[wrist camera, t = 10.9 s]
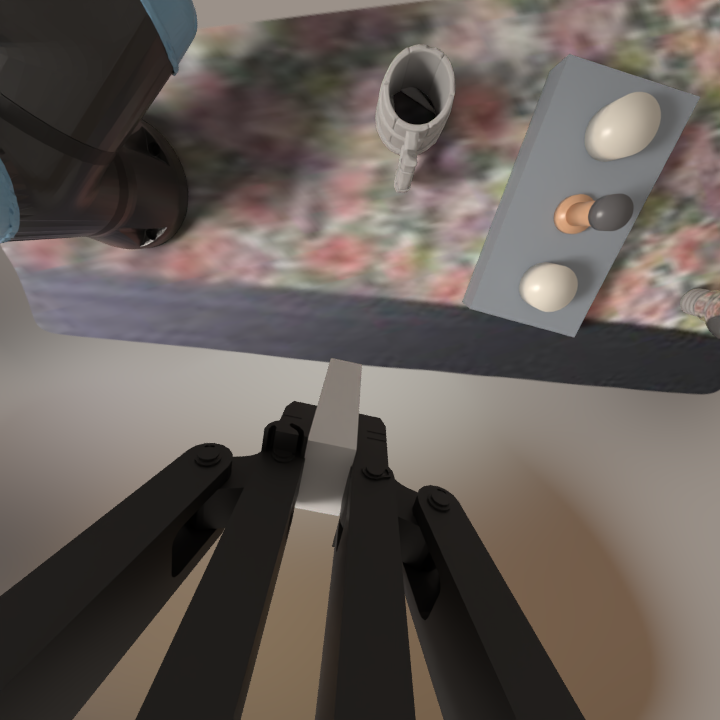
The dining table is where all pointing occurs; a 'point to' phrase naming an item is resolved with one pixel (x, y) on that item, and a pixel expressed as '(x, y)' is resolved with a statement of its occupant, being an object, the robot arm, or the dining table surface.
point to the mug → (410, 75)
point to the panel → (569, 192)
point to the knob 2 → (623, 127)
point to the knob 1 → (548, 286)
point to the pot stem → (593, 213)
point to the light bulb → (704, 307)
